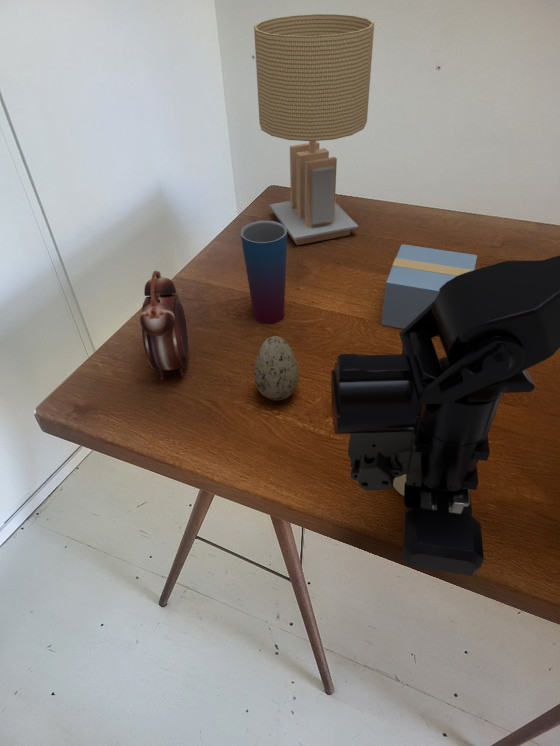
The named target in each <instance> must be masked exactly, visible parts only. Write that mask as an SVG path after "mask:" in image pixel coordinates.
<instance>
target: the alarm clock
mask: <svg viewBox="0 0 560 746" xmlns="http://www.w3.org/2000/svg"><path fill="white" fill-rule="evenodd" d="M177 293H178V291H177V287H176V284H175V283H174V281H173V280H172V279H171V278H169V277H165V276H163V277H162V275H161V272H160V271H159V270H158V271H157V270H153V272H152V275H151V279H149V280H148V281H146V283H145V284H144V292H143V294H144V295H143V296H144V297H145V298H144V300H143V303H142V306H141V312H140V316H139V322H140V326H141V335H142V342H143V348H144V352H145V356H146V359H147V362H148V364H149V365H150V367H151V368H152V370H154V371H158V372H159V376H160V380H161V381H163V380H164V379H165V376H164V371H174V370H179V372H180V376H184V372H183V369H184V368H185V367H186V364H187V357H188V352H189V351H188V350H189V349H188V348H189V344H188V330H187V321H186V316H185V310H184V307H183V305H182V303H181V300H180V297H179V295H178V294H177Z"/></svg>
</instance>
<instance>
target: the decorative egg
mask: <svg viewBox="0 0 560 746" xmlns="http://www.w3.org/2000/svg"><path fill="white" fill-rule="evenodd" d="M255 357H256V358H255V362H254V367H253V368H254V369H253V378H254V383H255V386H256V388H257V390H258V391H259V393H260V394H261V395H262V396H263V397H264V398H266V399H267V400H271V401H283V400H286V399H288V398H289V397H291V395H293V393H295V390H296V389H297V387H298V383H299V379H300V373H299V371H300V370H299V365H298V361H297V358H296V356H295V353H294V351H293V349H292V348H291V346H290V345H289V344H288V342H287V341H286V340H285V339H283V338H282V337H281V336H278V335H272V336H270V337H267V339H265V341H263V343H262V344H261V345H260V347H259V349H258V351H257V354H256V356H255Z"/></svg>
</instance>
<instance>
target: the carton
mask: <svg viewBox="0 0 560 746" xmlns="http://www.w3.org/2000/svg"><path fill="white" fill-rule="evenodd" d="M477 259H478V254H472V253H465V252H458V251H451V250H444V249H439V248H437V249H436V248H431V247H425V246H416V245H409V244H404V243H403V244H400V247H399V250H398V252H397V254H396V257H395V258H394V260H393V263H392V266H391V269H390V272H389V273H388V276H387V279H386V281H385V288H384V296H383V302H382V303H383V304H382V312H381V319H380V325H381V326H387V327H390V328H391V327H392V328H396V329H401V330H403V329H404V328H405V327H406V326H407V325H409V324H410V323H411V322H412V321H413V320H414V319H415V318H416V317H417V316H418V315H419V314H420V313H421V312H423V311H424V310H425V309H426V308H427V307H428V306H429V305H430V304H431V303H432V302H433V301H434V300H435V299H436V297H437V295H438V294H439V289H440V288H441V287H442V286H443V285H444V284H445V283H446V282H448V281H449V280H451V279H453V278H455V277H456V276H458V275H461V274H463V273H467V272H470V271H473V270H476V265H477ZM437 336H438V337H439V335H437Z"/></svg>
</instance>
